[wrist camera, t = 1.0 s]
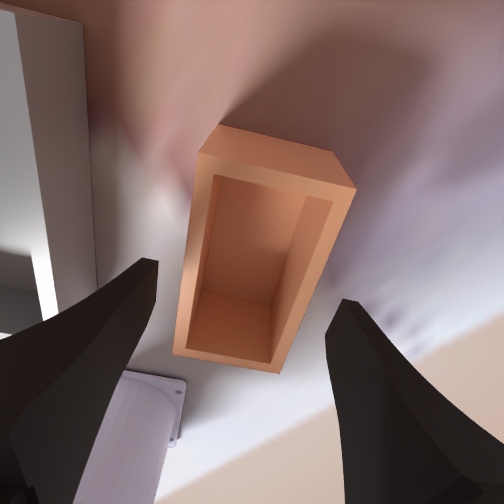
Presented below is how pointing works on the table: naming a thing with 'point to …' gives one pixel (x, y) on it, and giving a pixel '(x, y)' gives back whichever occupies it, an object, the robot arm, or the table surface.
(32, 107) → the big crate
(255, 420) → the table surface
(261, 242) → the box
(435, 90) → the table surface
